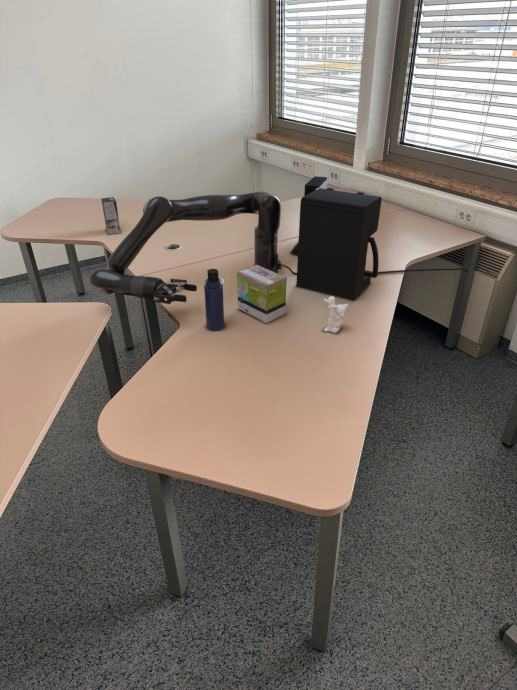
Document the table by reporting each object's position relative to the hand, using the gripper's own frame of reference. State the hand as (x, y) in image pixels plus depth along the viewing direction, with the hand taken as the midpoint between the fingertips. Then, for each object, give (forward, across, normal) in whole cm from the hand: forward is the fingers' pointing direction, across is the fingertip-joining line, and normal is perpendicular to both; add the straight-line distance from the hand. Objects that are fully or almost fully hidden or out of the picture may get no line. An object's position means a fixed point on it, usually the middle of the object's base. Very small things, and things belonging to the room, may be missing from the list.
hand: (191, 293), depth 160 cm
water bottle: (+8, 0, +11) cm, 14 cm away
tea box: (+20, +14, +11) cm, 27 cm away
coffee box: (-77, +78, +11) cm, 111 cm away
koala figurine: (+47, +9, +11) cm, 49 cm away
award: (+27, +87, +11) cm, 92 cm away
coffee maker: (+43, +45, +11) cm, 63 cm away
